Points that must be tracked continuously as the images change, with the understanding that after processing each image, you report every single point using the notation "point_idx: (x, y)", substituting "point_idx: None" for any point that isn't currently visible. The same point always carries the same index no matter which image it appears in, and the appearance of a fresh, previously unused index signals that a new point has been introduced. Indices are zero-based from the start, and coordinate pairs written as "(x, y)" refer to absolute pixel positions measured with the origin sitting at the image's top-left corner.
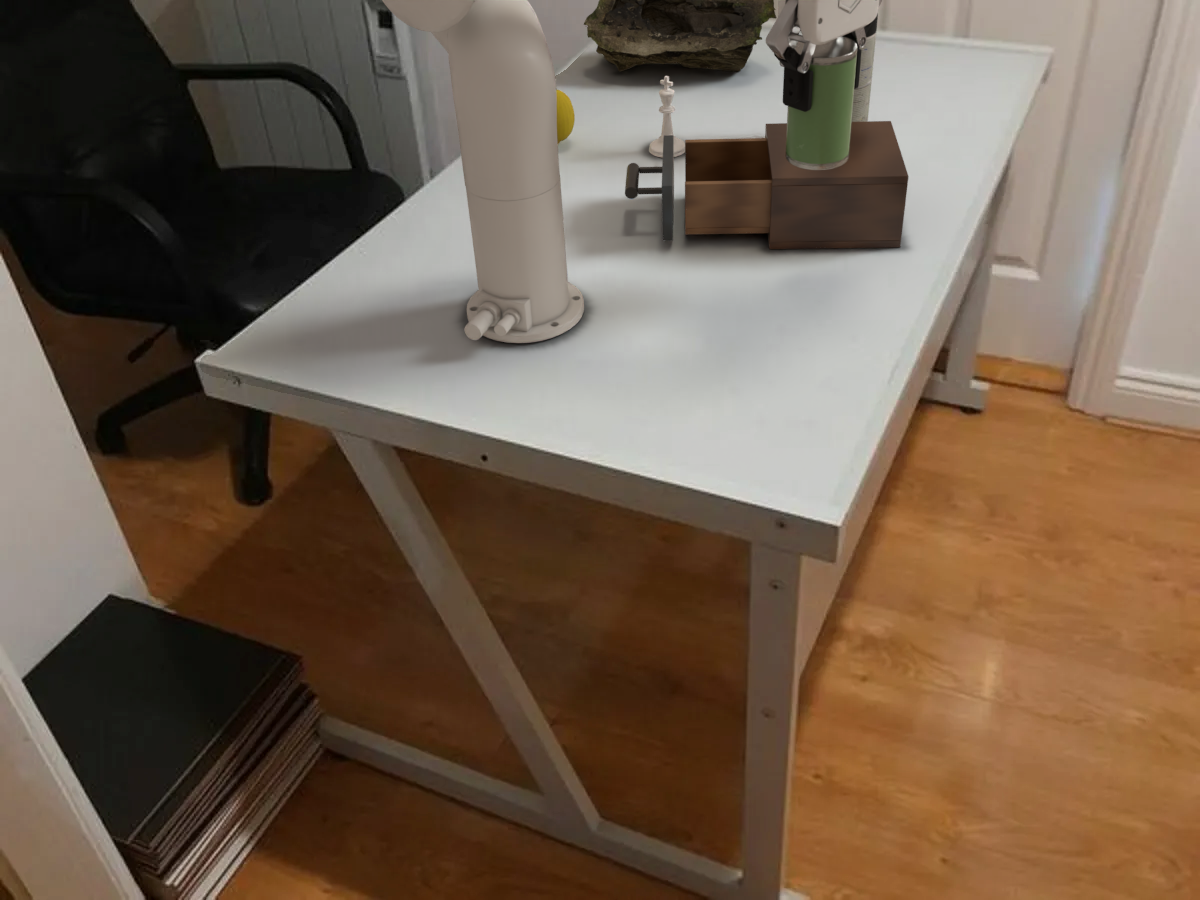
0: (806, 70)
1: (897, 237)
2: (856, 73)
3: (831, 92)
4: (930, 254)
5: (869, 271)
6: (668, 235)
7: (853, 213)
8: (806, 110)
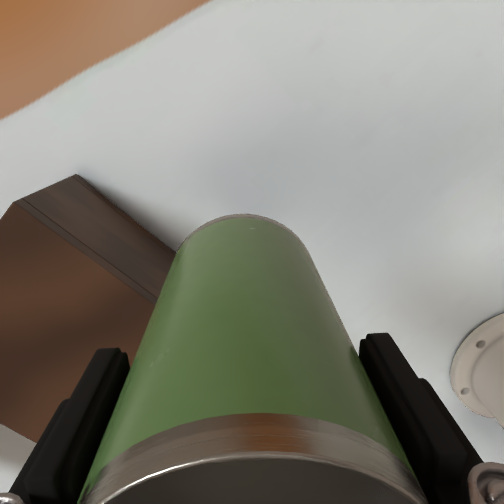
0: (478, 473)
1: (74, 180)
2: (98, 387)
3: (320, 333)
4: (52, 128)
5: (160, 159)
6: None
7: (119, 239)
8: (388, 335)
